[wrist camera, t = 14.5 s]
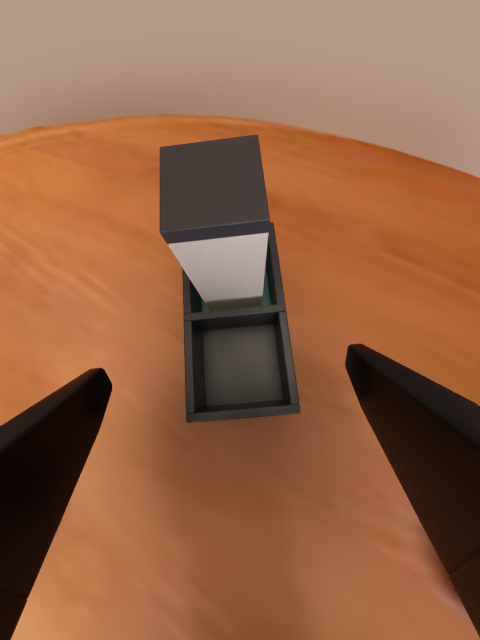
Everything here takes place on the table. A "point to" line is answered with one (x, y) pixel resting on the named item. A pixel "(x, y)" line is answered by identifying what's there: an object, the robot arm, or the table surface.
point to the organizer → (239, 353)
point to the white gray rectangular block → (217, 218)
